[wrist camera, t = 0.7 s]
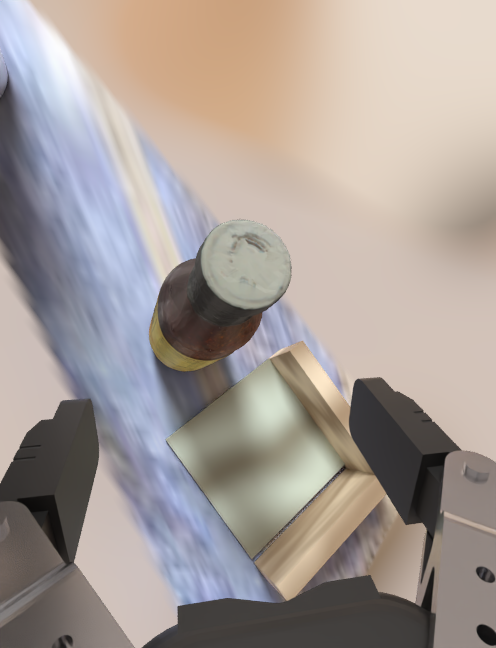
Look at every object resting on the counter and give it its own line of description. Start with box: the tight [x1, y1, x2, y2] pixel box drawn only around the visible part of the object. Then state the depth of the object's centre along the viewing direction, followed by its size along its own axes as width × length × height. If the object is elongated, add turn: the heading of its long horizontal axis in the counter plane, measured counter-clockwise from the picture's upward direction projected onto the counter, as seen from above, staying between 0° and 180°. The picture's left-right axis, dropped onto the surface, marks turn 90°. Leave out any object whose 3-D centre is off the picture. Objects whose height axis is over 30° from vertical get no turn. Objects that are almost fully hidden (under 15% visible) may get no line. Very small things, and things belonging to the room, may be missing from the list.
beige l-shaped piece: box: [165, 341, 386, 601], centre depth 33 cm, size 14×14×5 cm
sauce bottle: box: [149, 220, 291, 372], centre depth 26 cm, size 7×6×20 cm
